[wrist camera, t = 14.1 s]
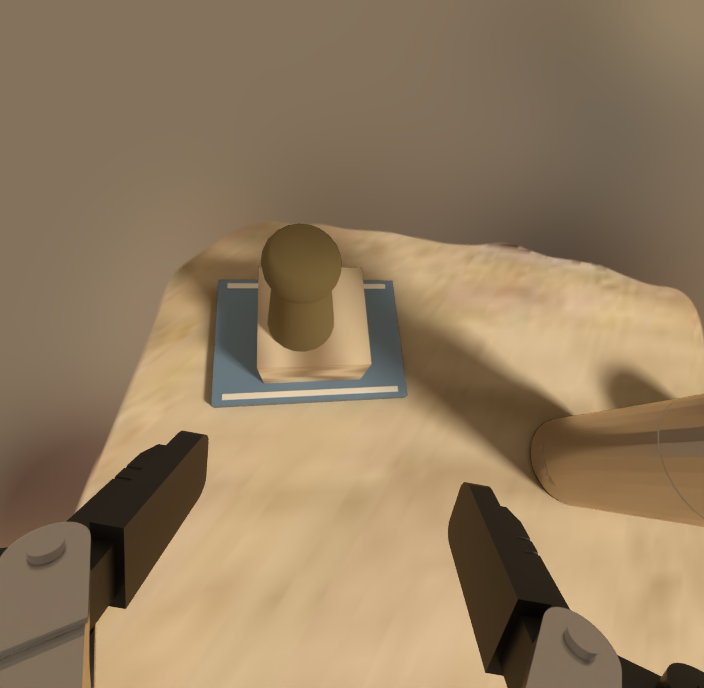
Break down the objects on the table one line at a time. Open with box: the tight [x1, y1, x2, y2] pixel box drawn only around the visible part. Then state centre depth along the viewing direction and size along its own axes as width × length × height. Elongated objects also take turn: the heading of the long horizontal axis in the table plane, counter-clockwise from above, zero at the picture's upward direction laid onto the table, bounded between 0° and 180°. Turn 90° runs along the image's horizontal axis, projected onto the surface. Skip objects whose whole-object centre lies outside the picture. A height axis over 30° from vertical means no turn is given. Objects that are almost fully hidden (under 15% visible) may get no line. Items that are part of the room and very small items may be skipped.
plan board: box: [211, 280, 407, 408], centre depth 37 cm, size 20×14×1 cm
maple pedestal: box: [257, 266, 371, 384], centre depth 34 cm, size 10×10×6 cm
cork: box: [261, 224, 342, 352], centre depth 25 cm, size 6×6×11 cm
